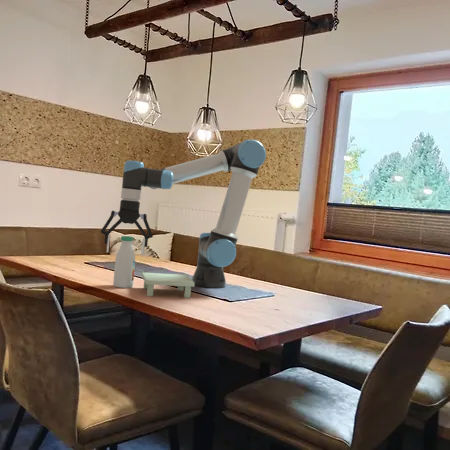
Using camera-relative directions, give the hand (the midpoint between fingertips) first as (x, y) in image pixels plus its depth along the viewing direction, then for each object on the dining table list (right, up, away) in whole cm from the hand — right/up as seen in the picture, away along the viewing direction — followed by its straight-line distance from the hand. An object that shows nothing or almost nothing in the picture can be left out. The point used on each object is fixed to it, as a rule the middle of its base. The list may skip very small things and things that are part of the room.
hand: (125, 253), depth 188 cm
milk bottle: (-1, -13, +1) cm, 13 cm away
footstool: (+17, -15, -4) cm, 23 cm away
